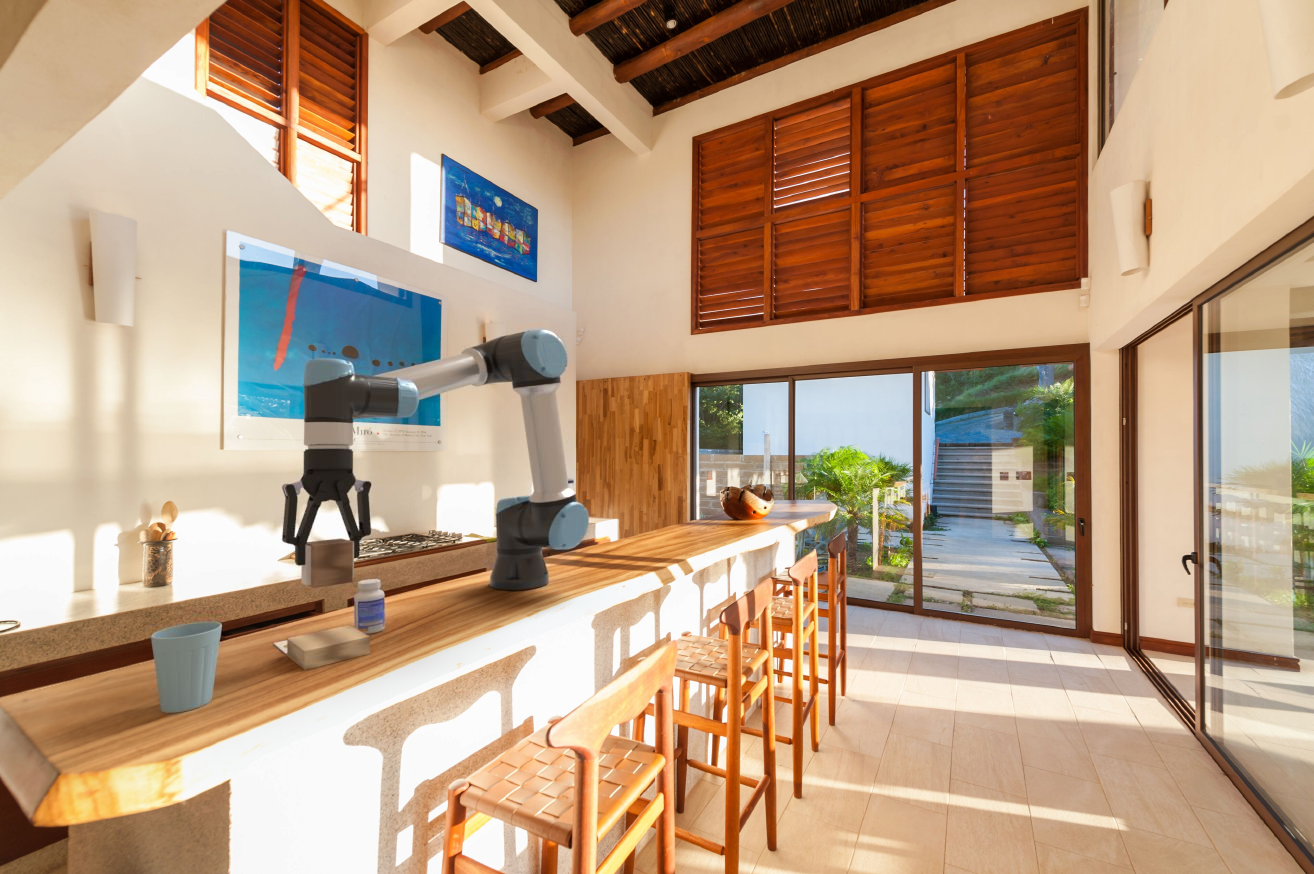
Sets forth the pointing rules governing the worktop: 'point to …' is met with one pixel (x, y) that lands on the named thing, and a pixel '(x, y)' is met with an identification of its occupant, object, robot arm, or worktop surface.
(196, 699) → the cup
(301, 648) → the oak base slab
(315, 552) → the walnut block
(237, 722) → the worktop surface
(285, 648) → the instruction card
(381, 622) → the pill bottle
